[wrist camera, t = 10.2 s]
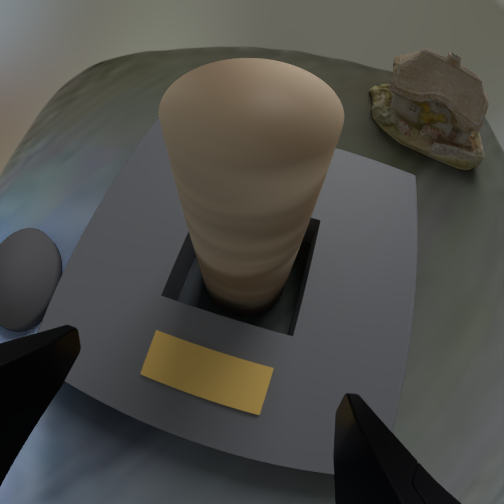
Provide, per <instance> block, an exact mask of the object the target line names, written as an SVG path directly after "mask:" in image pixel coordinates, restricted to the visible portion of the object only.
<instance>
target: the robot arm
mask: <svg viewBox="0 0 504 504" xmlns="http://www.w3.org/2000/svg"><path fill="white" fill-rule="evenodd" d="M80 350H81V344H80V338H79V332H78V329H77V328H76V327H73V326H71V325H64V326H60V327H57V328H53V329H50V330H46V331H43V332H39V333H36V334H32V335H29V336H25V337H22V338H18V339H15V340H11V341H8V342H4V343H1V344H0V486H1V484H2V482H3V480H4V478H5V477H6V475H7V473H8V471H9V470H10V467H11V466H12V464H13V462H14V460H15V459H16V457H17V455H18V454H19V452H20V450H21V449H22V447H23V445H24V444H25V442H26V440H27V439H28V437H29V435H30V434H31V432H32V431H33V429H34V427H35V426H36V424H37V423H38V421H39V419H40V418H41V416H42V415H43V413H44V412H45V410H46V409H47V407H48V406H49V404H50V403H51V401H52V400H53V398H54V397H55V395H56V394H57V392H58V391H59V389H60V388H61V386H62V384H63V383H64V381H65V379H66V377H67V375H68V374H69V372H70V370H71V368H72V366H73V364H74V362H75V361H76V359H77V357H78V355H79V353H80ZM333 462H334V480H335V503H336V504H461V503H460V502H459V501H458V500H457V499H455V498H454V497H453V496H452V495H451V494H450V493H449V492H447V491H446V490H445V489H444V488H443V487H442V486H441V485H440V484H439V483H438V482H437V481H435V480H434V479H433V477H432V476H431V475H430V474H429V473H428V472H427V471H426V470H425V469H424V468H423V467H422V466H421V464H420V463H418V461H417V460H416V459H415V458H414V457H413V456H412V454H411V453H410V452H409V451H408V450H407V449H406V448H405V447H404V445H403V444H402V443H401V442H400V441H399V440H398V439H397V438H396V436H395V435H394V434H393V433H392V432H391V431H390V430H389V428H388V427H387V426H386V425H385V424H384V423H383V422H382V420H381V419H380V418H379V417H378V416H377V415H376V414H375V412H374V411H373V410H372V409H371V408H370V407H369V406H368V404H367V403H366V402H365V401H364V400H363V399H362V398H361V396H360V395H359V394H355V393H346V394H345V395H344V396H343V398H342V400H341V402H340V404H339V406H338V408H337V411H336V414H335V432H334V450H333Z"/></svg>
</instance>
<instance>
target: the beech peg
mask: <svg viewBox="0 0 504 504" xmlns="http://www.w3.org/2000/svg"><path fill="white" fill-rule="evenodd" d="M159 119H160V124H161V128H162V132H163V136H164V140H165V144H166V148H167V152H168V156H169V160H170V164H171V168H172V172H173V176H174V180H175V183H176V187H177V191H178V195H179V198H180V202H181V205H182V209H183V213H184V216H185V220H186V223H187V227H188V230H189V234H190V237H191V240H192V244H193V247H194V251H195V254H196V257H197V261H198V264H199V267H200V270H201V274H202V277H203V280H204V283H205V286H206V289H207V292H208V294H209V296H210V298H211V299H212V301H213V302H214V303H215V304H216V305H217V306H218V307H219V308H221V309H222V310H224V311H226V312H228V313H230V314H233V315H237V316H253V315H257V314H260V313H262V312H264V311H266V310H268V309H269V308H271V307H272V306H273V305H274V304H275V303H276V302H277V300H278V299H279V298H280V296H281V294H282V292H283V289H284V287H285V284H286V281H287V279H288V276H289V274H290V271H291V269H292V266H293V264H294V261H295V258H296V256H297V253H298V251H299V248H300V245H301V243H302V240H303V237H304V235H305V232H306V229H307V227H308V224H309V221H310V219H311V216H312V213H313V211H314V208H315V205H316V202H317V200H318V197H319V194H320V191H321V188H322V186H323V183H324V180H325V177H326V174H327V171H328V169H329V166H330V163H331V160H332V157H333V154H334V151H335V148H336V145H337V142H338V139H339V136H340V133H341V130H342V127H343V123H344V111H343V106H342V104H341V102H340V100H339V98H338V96H337V95H336V93H335V92H334V91H333V90H332V89H331V88H330V87H329V86H328V85H327V84H326V83H325V82H324V81H322V80H321V79H319V78H318V77H317V76H315V75H313V74H311V73H310V72H308V71H306V70H303V69H301V68H299V67H296V66H293V65H290V64H287V63H283V62H279V61H274V60H268V59H258V58H238V59H228V60H222V61H217V62H213V63H210V64H206V65H203V66H201V67H198V68H196V69H194V70H192V71H190V72H188V73H186V74H185V75H183V76H182V77H180V78H179V79H178V80H176V81H175V82H174V83H173V84H172V85H171V86H170V87H169V88H168V89H167V91H166V92H165V94H164V95H163V97H162V99H161V102H160V106H159Z"/></svg>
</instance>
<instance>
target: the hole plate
mask: <svg viewBox="0 0 504 504" xmlns="http://www.w3.org/2000/svg"><path fill="white" fill-rule="evenodd" d="M302 242H305V243H309V244H310V249H309V253H308V257H307V261H306V265H305V270H304V274H303V278H302V282H301V286H300V290H299V294H298V298H297V302H296V306H295V309H294V313H293V317H292V321H291V325H290V328H289V332H288V335H286V334H282V333H279V332H275V331H271V330H268V329H264V328H261V327H257V326H254V325H251V324H247V323H244V322H241V321H237V320H234V319H231V318H227V317H224V316H221V315H218V314H215V313H211V312H208V311H205V310H202V309H199V308H196V307H193V306H190V305H187V304H184V303H181V302H178V301H177V299H178V297H179V294H180V291H181V289H182V286H183V284H184V281H185V279H186V276H187V274H188V271H189V269H190V266H191V264H192V262H193V259H194V257H195V251H194V247H193V244H192V240H191V237H190V234H189V230H188V227H187V223H186V220H185V216H184V213H183V209H182V205H181V202H180V198H179V195H178V191H177V187H176V183H175V180H174V176H173V172H172V168H171V164H170V160H169V156H168V152H167V148H166V144H165V140H164V136H163V132H162V128H161V124H160V119H159V118H158V119H157V120H156V122H155V123H154V124H153V126H152V127H151V128H150V130H149V131H148V132H147V134H146V135H145V136H144V138H143V139H142V140H141V142H140V143H139V145H138V146H137V147H136V149H135V150H134V152H133V153H132V155H131V156H130V158H129V159H128V160H127V162H126V163H125V165H124V166H123V168H122V169H121V171H120V172H119V174H118V176H117V177H116V179H115V180H114V182H113V183H112V185H111V187H110V188H109V190H108V191H107V193H106V195H105V196H104V198H103V200H102V201H101V203H100V205H99V206H98V208H97V210H96V211H95V213H94V215H93V217H92V218H91V220H90V222H89V224H88V226H87V227H86V229H85V231H84V233H83V235H82V237H81V238H80V240H79V242H78V244H77V246H76V248H75V250H74V252H73V254H72V256H71V258H70V260H69V262H68V264H67V266H66V268H65V270H64V272H63V274H62V276H61V279H60V281H59V283H58V285H57V287H56V290H55V292H54V294H53V296H52V299H51V301H50V303H49V306H48V308H47V311H46V313H45V316H44V318H43V321H42V323H41V326H40V328H39V331H38V333H39V332H43V331H46V330H50V329H53V328H57V327H60V326H64V325H71V326H73V327H76V328H77V329H78V332H79V338H80V344H81V350H80V353H79V355H78V357H77V359H76V361H75V362H74V364H73V366H72V368H71V370H70V372H69V374H68V375H67V377H66V379H65V382H67V383H68V384H70V385H72V386H74V387H75V388H77V389H79V390H80V391H82V392H84V393H86V394H88V395H89V396H91V397H93V398H95V399H97V400H99V401H101V402H102V403H104V404H106V405H108V406H110V407H112V408H114V409H116V410H118V411H120V412H122V413H125V414H127V415H129V416H131V417H133V418H135V419H138V420H140V421H142V422H144V423H147V424H149V425H151V426H154V427H156V428H158V429H161V430H163V431H166V432H168V433H171V434H174V435H176V436H179V437H182V438H184V439H187V440H190V441H193V442H196V443H199V444H201V445H204V446H208V447H211V448H214V449H217V450H220V451H224V452H227V453H231V454H234V455H238V456H241V457H245V458H249V459H253V460H257V461H261V462H266V463H270V464H275V465H279V466H284V467H289V468H295V469H300V470H306V471H313V472H320V473H327V474H334V462H333V450H334V432H335V414H336V411H337V408H338V406H339V404H340V402H341V400H342V398H343V396H344V395H345V394H346V393H355V394H359V395H360V396H361V398H362V399H363V400H364V401H365V402H366V403H367V404H368V406H369V407H370V408H371V409H372V410H373V411H374V412H375V414H376V415H377V416H378V417H379V418H380V419H381V420H382V422H383V423H384V424H385V425H386V426H387V427H388V428H389V430H390V431H391V432H392V430H393V426H394V422H395V418H396V414H397V410H398V405H399V401H400V396H401V391H402V386H403V381H404V376H405V370H406V364H407V358H408V352H409V345H410V338H411V330H412V322H413V312H414V301H415V288H416V271H417V193H416V176H415V175H413V174H411V173H408V172H405V171H403V170H400V169H397V168H394V167H392V166H389V165H386V164H383V163H380V162H377V161H375V160H372V159H369V158H366V157H362V156H359V155H356V154H353V153H350V152H347V151H343V150H340V149H337V148H335V151H334V154H333V157H332V160H331V163H330V166H329V169H328V171H327V174H326V177H325V180H324V183H323V186H322V188H321V191H320V194H319V197H318V200H317V202H316V205H315V208H314V211H313V213H312V216H311V219H310V221H309V224H308V227H307V229H306V232H305V235H304V237H303V240H302Z"/></svg>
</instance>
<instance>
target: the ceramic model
mask: <svg viewBox="0 0 504 504" xmlns="http://www.w3.org/2000/svg"><path fill="white" fill-rule="evenodd" d="M460 62H461V57H459V56H457V55H454V54H453V53H452V52H449V53H448V56H447V57H446V58H445V57H444V56H443V55H441V54H440V53H438V52H436V51H433V50H430V49H425V48H422V49H421V50H419V51H416V52H412V53H410V54H405V55H398V57H395V58H394V64H393V68H394V70H393V74H392V78H391V81H390V84H388V85H387V84H382V85H380V87H378V86H374V87H372V88H371V89H370V93H371V96H372V102H373V106H372V117H373V119H374V120H375V122H376V123H377V124H378V125H379V126H380V127H381V128H382V129H383V130H384V131H385V132H386V133H387V134H389V135H390V136H391V137H392V138H393V139H395V140H396V141H397V142H399V143H400V144H402V145H404V146H406V147H408V148H410V149H413V150H415V151H417V152H419V153H422V154H424V155H426V156H428V157H430V158H433V159H435V160H437V161H439V162H442V163H444V164H447V165H449V166H452V167H455V168H457V169H461V170H471V169H472V168H474V167H477V166H478V165H479V164H480V163H481V162H482V160H483V159H484V151H483V147H482V141H481V137H480V133H479V130H480V128H481V126H482V124H483V121H484V117H485V114H486V111H487V108H488V96H487V94H486V92H485V91H484V89H483V86H482V80H481V79H480V77H478V76H477V75H476V74H475V73H474V72H472V71H470V70H469V69H467V68H466V67H464V66H461V65H460Z"/></svg>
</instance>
